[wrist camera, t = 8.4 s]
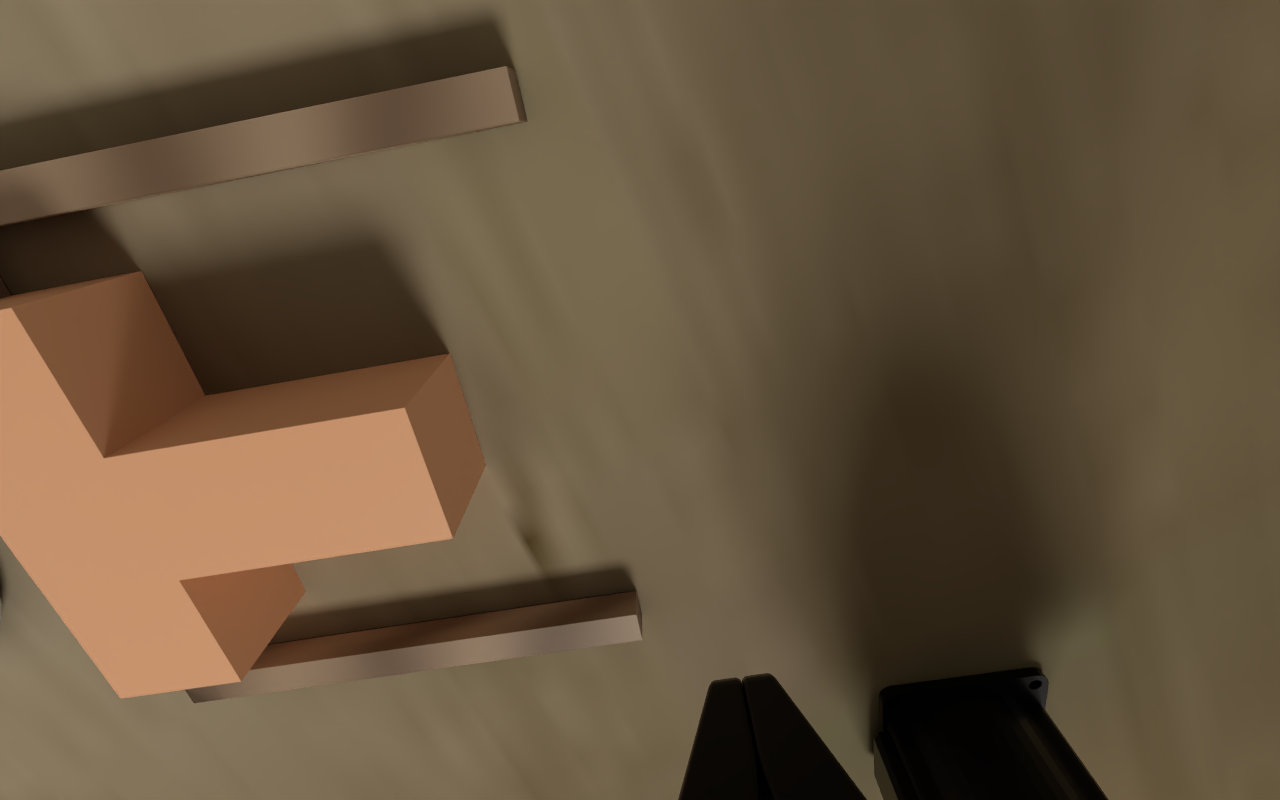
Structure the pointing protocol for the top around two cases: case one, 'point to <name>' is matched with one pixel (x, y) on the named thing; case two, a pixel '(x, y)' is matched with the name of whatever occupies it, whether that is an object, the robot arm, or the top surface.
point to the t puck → (203, 481)
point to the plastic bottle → (0, 610)
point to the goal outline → (291, 146)
